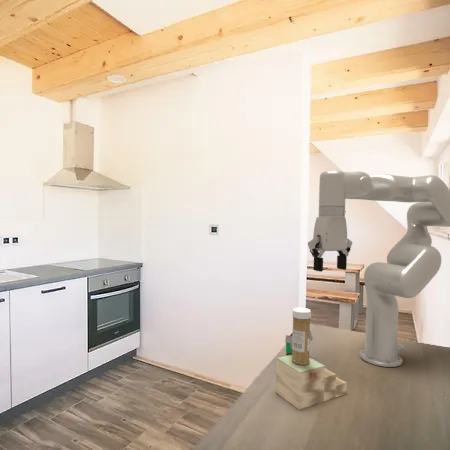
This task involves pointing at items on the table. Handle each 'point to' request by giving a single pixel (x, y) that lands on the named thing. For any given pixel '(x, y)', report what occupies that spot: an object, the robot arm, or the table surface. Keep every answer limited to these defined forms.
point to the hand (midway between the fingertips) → (330, 269)
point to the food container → (289, 343)
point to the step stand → (306, 382)
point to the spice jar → (301, 336)
